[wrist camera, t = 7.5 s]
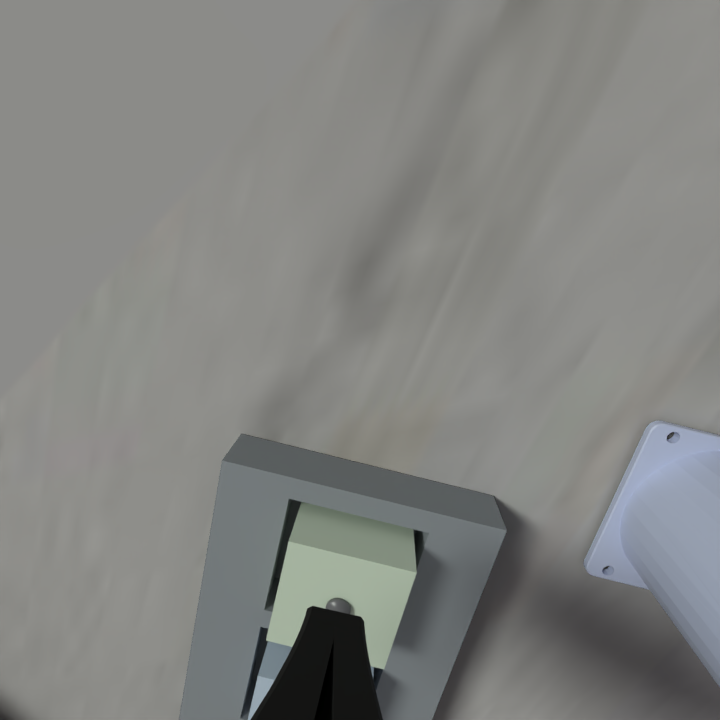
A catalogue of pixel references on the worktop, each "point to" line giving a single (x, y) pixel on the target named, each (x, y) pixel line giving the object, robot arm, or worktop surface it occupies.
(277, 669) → the tile two dots
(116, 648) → the worktop surface
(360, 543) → the tile one dot
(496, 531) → the board
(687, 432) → the robot arm
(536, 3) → the worktop surface
